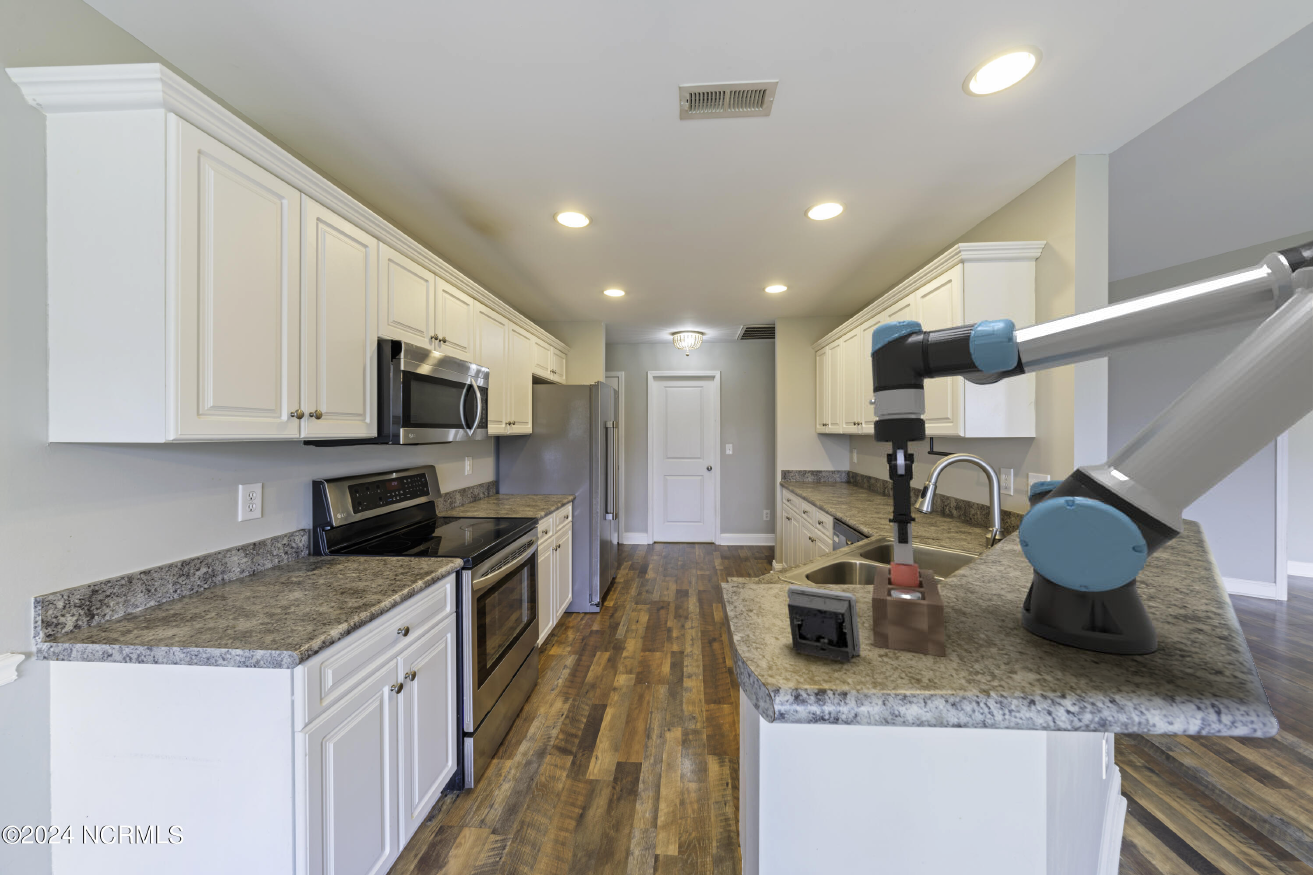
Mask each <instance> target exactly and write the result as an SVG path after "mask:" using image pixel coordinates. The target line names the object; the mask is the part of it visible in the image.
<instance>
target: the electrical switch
mask: <svg viewBox="0 0 1313 875" xmlns="http://www.w3.org/2000/svg"><path fill="white" fill-rule="evenodd" d="M786 594H787V598H788V602H787V611H788V619H789V626H790V635H791V641H792V642H791V643H792V649H793V651H794V652H796V653H802V654H805V655H806V654H807V655H811V656H815V657H819V658H820V657H821V658H824V657H825V659H829V660H835V661H838V662H843V663H849V664H850V663H851V659H852V657H853V656H858V655H859V654H860V653H861V639H860V630H859V629H860V628H859V618H858V609H857V599H856V598H857V597H856V596H855V595H854V594H853V593H851V592H844V591H835V590H827V589H820V588H814V587H807V586H805V587H804V586H801V585H800V586H799V585H790V586H789V587H788V589H787V593H786ZM821 649H824V650H821ZM844 661H845V662H844Z"/></svg>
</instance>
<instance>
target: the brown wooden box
mask: <svg viewBox="0 0 1313 875" xmlns="http://www.w3.org/2000/svg"><path fill="white" fill-rule="evenodd" d="M872 587H873V588H872V595H871V609H872V610H871V611H872V612H871V613H872V614H871V616H872V637H873V640H872V641H873V642H872V645H873V647H878V648H884V649H890V650H897V651H904V652H911V653H917V654H923V655H930V656H936V657H941V658H946V636H945V635H946V631H945V609H944V607H945V606H944V603H943V599H942V596H941V594H940V589H939V587H938V584H937V580H936V577H935V574H934V571H933V569H924V568H923V569H921V568H919V588H914V587H904V586H894V585H891V566H887V565H886V566H885V565H876V568H875V574H874V582H873V586H872ZM896 589H905V590H912V591H916V592H918V593H920V594H921V600H916V599H907V598H898V597H891V591H892V590H896Z"/></svg>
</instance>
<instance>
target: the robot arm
mask: <svg viewBox="0 0 1313 875" xmlns="http://www.w3.org/2000/svg"><path fill="white" fill-rule="evenodd" d="M1256 326H1257V327H1256ZM1251 327H1256V328H1255V329H1254V330H1253V331H1252V332H1250V333H1249V335H1246V337H1245V338H1243V340H1241V341H1240V342H1239V343H1238V344H1237V345H1236V346H1235V347H1234V348H1232V349H1231V350H1230V351H1229V352H1228V353H1227V354H1226V355H1225V356H1223V357H1222V358H1221V359H1220V360H1219V361H1218V362H1216V363H1215V364H1214V366H1212V367H1211V368H1210V369H1209V370H1207V371H1206V373H1205V372H1204V374H1203V375H1202V376H1201V377H1199V379H1197V380H1196V381H1195V382H1194V383H1193V384H1192V385H1191V386H1190V387H1188V388H1187V389H1186V390H1185V391H1184V392H1183V393H1182V394H1181V395H1179V396H1178V397H1177V398H1175V400H1173V401H1172V402H1171V403H1170V404H1169V405H1168V406H1167V407H1166V408H1165V409H1163V411H1161V412H1160V413H1159V414H1158V415H1157V416H1155V418H1154V419H1152V420H1151V421H1150V422H1149V423H1148V424H1146V425H1145V426H1144V427H1143V428H1142V429H1141V430H1139V432H1138V433H1136V434H1135V435H1134V436H1133V437H1132V438H1131V439H1130V440H1128V441H1127V442H1126V443H1125V444H1124V445H1122V447H1121V448H1119V449H1118V450H1117V451H1116V452H1115V453H1114V454H1113V455H1112V456H1110V458H1108V459H1107V460H1106V461H1105V462H1104V463H1100V464H1093V465H1091V464H1090V465H1080V466H1078V467H1077V468H1076V469H1075V470H1074V471H1073V472H1072V473H1071V474H1069V475H1068V476H1067V477H1066V478H1065V479H1064V480H1063V479H1062V480H1059V479H1057V480H1039V481H1035V482H1033V483H1032V484H1031V485H1030V487H1029V494H1028V496H1027V500H1028V502H1029V508H1030V509H1029V510H1028V511H1026V513H1024V515H1023V517H1021V518H1022V520H1021V521H1020V522H1019V526H1018V542H1019V545H1020V548H1021V551H1022V553H1023V555H1024V557H1025V559H1026V560H1027V562H1028V563H1029V564H1030V566H1031V567H1032V570H1033V572H1032V574H1033V576H1032V580H1031V583H1030V585H1029V588H1028V590H1027V592H1026V593H1027V594H1026V596H1025V599H1024V601H1023V604H1022V607H1021V610H1020V611H1021V624H1022V626H1023V627H1024V629H1026V630H1027V631H1029V632H1030V633H1033V634H1034V635H1037V636H1039V637H1042V638H1045V639H1047V640H1050V641H1052V642H1056V643H1059V644H1062V645H1065V646H1066V645H1067V646H1071V647H1075V648H1079V649H1083V650H1090V651H1095V652H1102V653H1111V654H1119V655H1143V654H1144V655H1145V654H1149V653H1153V652H1155V651H1157V650H1158V633H1157V629H1156V628H1155V625H1154V624H1153V622H1152V619H1151V617H1150V615H1149V613H1148V610H1147V608H1146V606H1145V605H1144V602H1143V599H1142V598H1141V596H1140V594H1139V592H1138V588H1137V587H1138V586H1137V577H1138V576H1139V575H1140V572H1141V571H1142V570H1143V569H1144V568H1145V565H1146V564H1147V561H1148V559H1149V558H1150V557H1151V556H1152V555H1154V554H1155V553H1157V552H1158V551H1159V550H1160V549H1162V548H1163V547H1165V546H1166V545H1167V544H1169V543H1170V542H1171V541H1172V540H1174V539H1175V538H1176V537H1177V536H1179V535H1180V534H1182V533H1183V532H1184V531H1185V529H1184V521H1183V512H1184V510H1186V509H1187V508H1188V507H1190V506H1191V505H1193V503H1195V502H1196V501H1197V500H1199V499H1200V498H1201V497H1202V496H1204V495H1205V494H1206V493H1208V492H1209V491H1210V490H1212V489H1213V488H1214V487H1215V486H1216V485H1218V484H1220V483H1221V482H1222V481H1223V480H1224V479H1226V478H1227V477H1229V476H1230V475H1231V474H1232V473H1234V472H1235V471H1236V470H1237V469H1239V468H1241V467H1242V466H1243V465H1245V463H1246V462H1248V461H1249V460H1250V459H1252V458H1253V457H1254V456H1256V455H1257V454H1258V453H1259V452H1261V451H1262V450H1263V449H1264V448H1266V447H1267V446H1268V445H1270V444H1271V443H1272V442H1274V441H1275V440H1276V439H1277V438H1279V437H1281V435H1282V434H1284V433H1286V431H1288V430H1289V429H1290V428H1292V427H1293V426H1294V425H1296V424H1297V423H1298V422H1299V421H1301V420H1302V419H1303V418H1305V417H1306V416H1307V415H1308V414H1310V413H1311V412H1313V239H1312V240H1310V241H1306V242H1305V243H1302V244H1298V245H1294V246H1292V247H1289V248H1285V249H1282V250H1277V251H1274V252H1270V253H1268V254H1267V255H1266V256H1265V257H1264V258H1263V259H1262V260H1261V261H1260V262H1259V263H1258V264H1256V265H1253V266H1248V267H1246V268H1242V269H1237V270H1234V271H1230V272H1226V273H1222V274H1219V275H1214V276H1211V277H1208V278H1204V279H1199V280H1196V281H1192V282H1189V283H1184V284H1181V285H1177V286H1174V287H1170V288H1165V289H1161V290H1158V291H1154V292H1151V293H1147V294H1144V295H1140V296H1136V297H1132V298H1128V299H1124V300H1121V301H1117V302H1113V303H1109V304H1106V305H1105V304H1104V305H1102V306H1098V307H1095V308H1091V309H1087V310H1083V311H1079V312H1075V313H1071V314H1068V315H1064V316H1060V317H1056V318H1053V319H1049V320H1045V321H1041V322H1039V323H1034V324H1030V325H1027V326H1022V327H1018V328H1016V324H1015V322H1014V321H1013V320H1012V319H1008V318H1003V319H993V320H987V319H986V320H981V321H979V322H974V323H968V324H967V323H966V324H964V325H956V326H951V327H950V326H949V327H945V328H940V329H939V328H938V329H935V330H924V329H923V326H922V324H921V322H919V321H916V320H909V319H908V320H907V319H906V320H900V321H899V320H897V321H889V322H886V323H883V324H881V325H878V326H876V328H874V330H873V331H872V334H871V352H870V358H871V359H870V360H871V374H872V376H871V377H872V395H873V396H872V397H873V398H874V399H873V398H871V399H869V401H868V404H869V405H870V406H873V416H874V417H875V418H877V419H876V420H874V421H873V438H874V441H875V442H876V443H891V453H886V464H887V465H888V479H889V480H890V481H891V483H892V499H893V500H892V501H893V502H892V503H893V504H892V505H893V510H892V518H888V523H889V524H890V523H891V524H892V529H893V530H892V532H893V533H892V534H893V536H892V537H893V559H894V560H893V562H894V563H901V564H913V563H914V550H913V549H914V547H913V546H914V545H913V523H912V522H916V521H917V520H916V517H915V516H914V517H913V515H912V498H911V481H913V479H914V471H913V470H914V466H913V465H914V464H915V453H914V452H909V446H908V445H909V444H908V443H911V442H914V443H915V442H916V443H917V442H924V441H925V440H926V438H927V434H926V432H927V431H926V419H924V418H923V417H922V416H923V415H925V414H926V395H925V394H926V393H925V380H927V379H930V380H931V379H939V378H951V377H962V378H963V379H964V380H966V381H967V382H969V383H972V384H975V385H979V386H986V385H993V384H997V383H999V382H1001V381H1004V379H1010V378H1013V377H1019V376H1022V375H1026V374H1032V373H1035V372H1036V373H1037V372H1040V371H1041V372H1042V371H1045V370H1049V369H1055V368H1059V367H1065V366H1069V365H1070V366H1071V365H1075V364H1080V363H1084V362H1089V361H1094V360H1097V359H1104V358H1108V357H1113V356H1117V355H1122V354H1127V353H1133V352H1138V351H1141V350H1145V349H1146V350H1147V349H1151V348H1155V347H1160V346H1161V347H1162V346H1166V345H1169V344H1170V345H1171V344H1175V343H1179V342H1185V341H1189V340H1195V339H1199V338H1204V337H1208V336H1214V335H1218V334H1224V333H1227V332H1233V331H1238V330H1242V329H1248V328H1251Z"/></svg>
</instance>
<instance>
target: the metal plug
mask: <svg viewBox="0 0 1313 875" xmlns="http://www.w3.org/2000/svg"><path fill="white" fill-rule="evenodd" d="M891 597H898V598H907V599H916V600H921V594H920V593H918V592H916V591H912V590H905V589H896V590H892V591H891Z"/></svg>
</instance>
